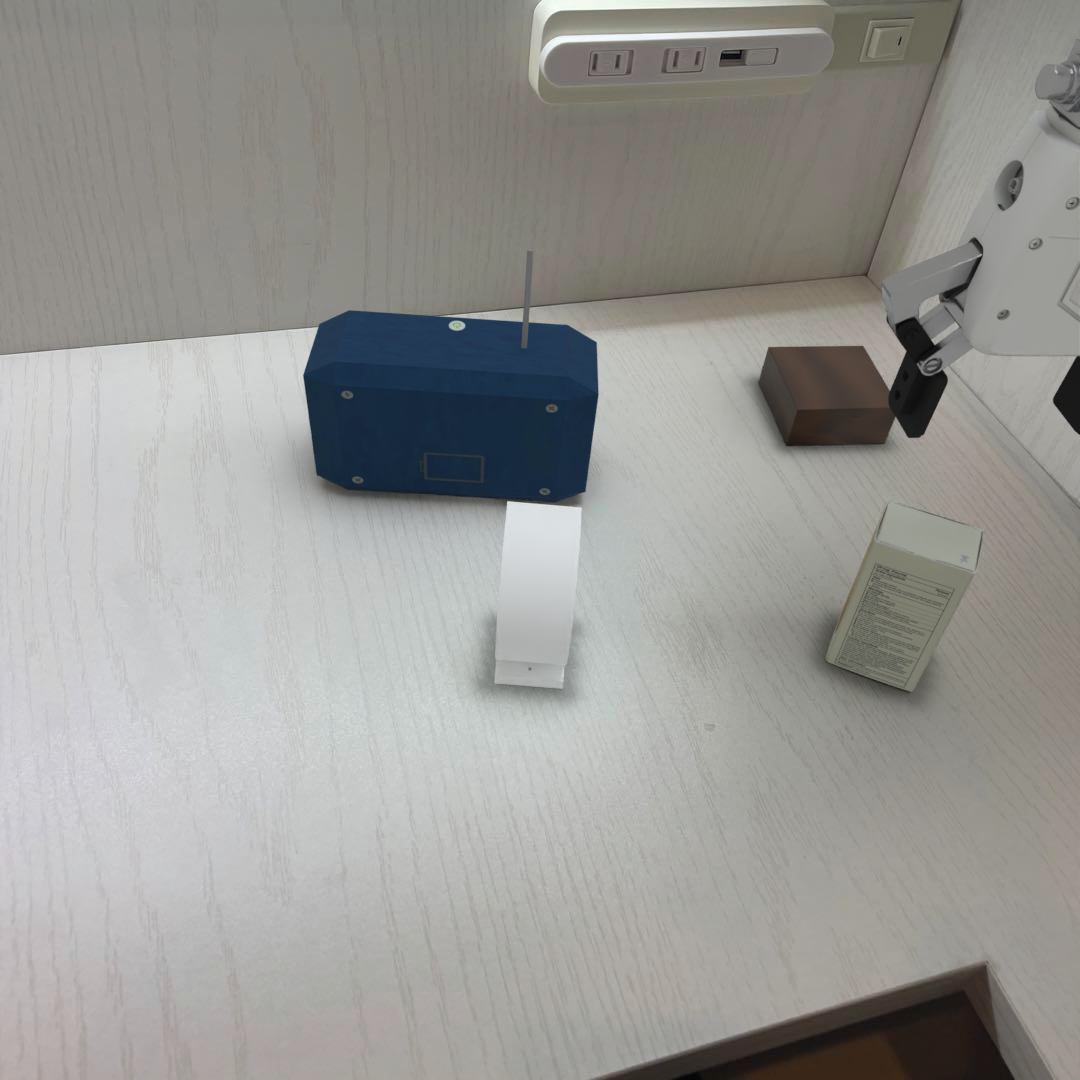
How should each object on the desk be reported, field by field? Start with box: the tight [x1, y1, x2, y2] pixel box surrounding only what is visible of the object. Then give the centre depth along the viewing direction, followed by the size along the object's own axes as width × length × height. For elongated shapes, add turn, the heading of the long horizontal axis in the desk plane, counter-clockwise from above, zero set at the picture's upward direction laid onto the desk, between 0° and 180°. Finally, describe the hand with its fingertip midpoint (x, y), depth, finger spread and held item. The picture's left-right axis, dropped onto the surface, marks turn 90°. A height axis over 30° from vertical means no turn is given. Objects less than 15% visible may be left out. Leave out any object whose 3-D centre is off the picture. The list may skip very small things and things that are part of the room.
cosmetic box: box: [825, 499, 985, 693], centre depth 64 cm, size 6×4×12 cm
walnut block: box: [758, 345, 896, 447], centre depth 86 cm, size 9×9×4 cm
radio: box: [302, 249, 599, 503], centre depth 72 cm, size 21×9×20 cm, turn 89°
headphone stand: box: [493, 500, 583, 690], centre depth 61 cm, size 5×6×12 cm
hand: (988, 420), depth 53 cm, fingers open, 9 cm apart
